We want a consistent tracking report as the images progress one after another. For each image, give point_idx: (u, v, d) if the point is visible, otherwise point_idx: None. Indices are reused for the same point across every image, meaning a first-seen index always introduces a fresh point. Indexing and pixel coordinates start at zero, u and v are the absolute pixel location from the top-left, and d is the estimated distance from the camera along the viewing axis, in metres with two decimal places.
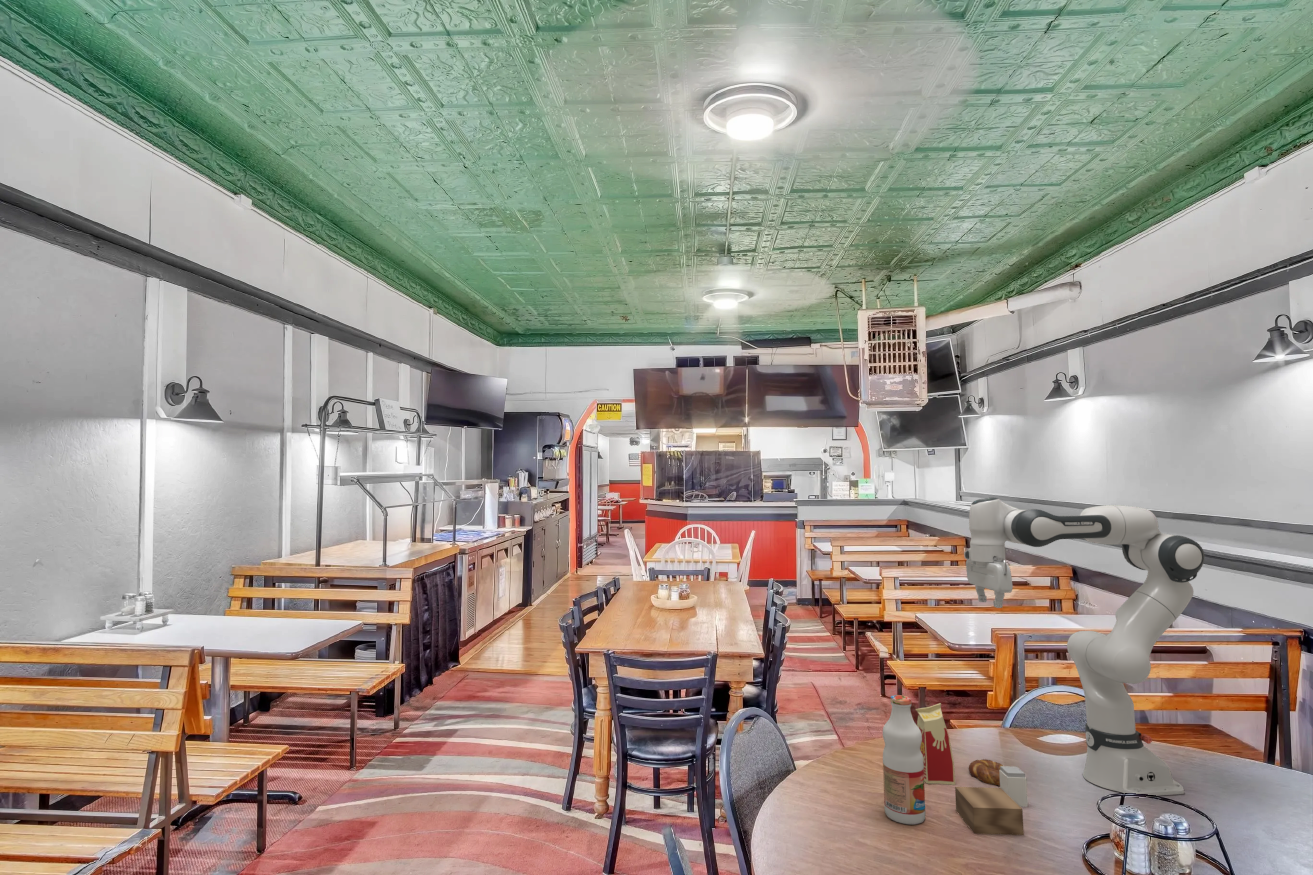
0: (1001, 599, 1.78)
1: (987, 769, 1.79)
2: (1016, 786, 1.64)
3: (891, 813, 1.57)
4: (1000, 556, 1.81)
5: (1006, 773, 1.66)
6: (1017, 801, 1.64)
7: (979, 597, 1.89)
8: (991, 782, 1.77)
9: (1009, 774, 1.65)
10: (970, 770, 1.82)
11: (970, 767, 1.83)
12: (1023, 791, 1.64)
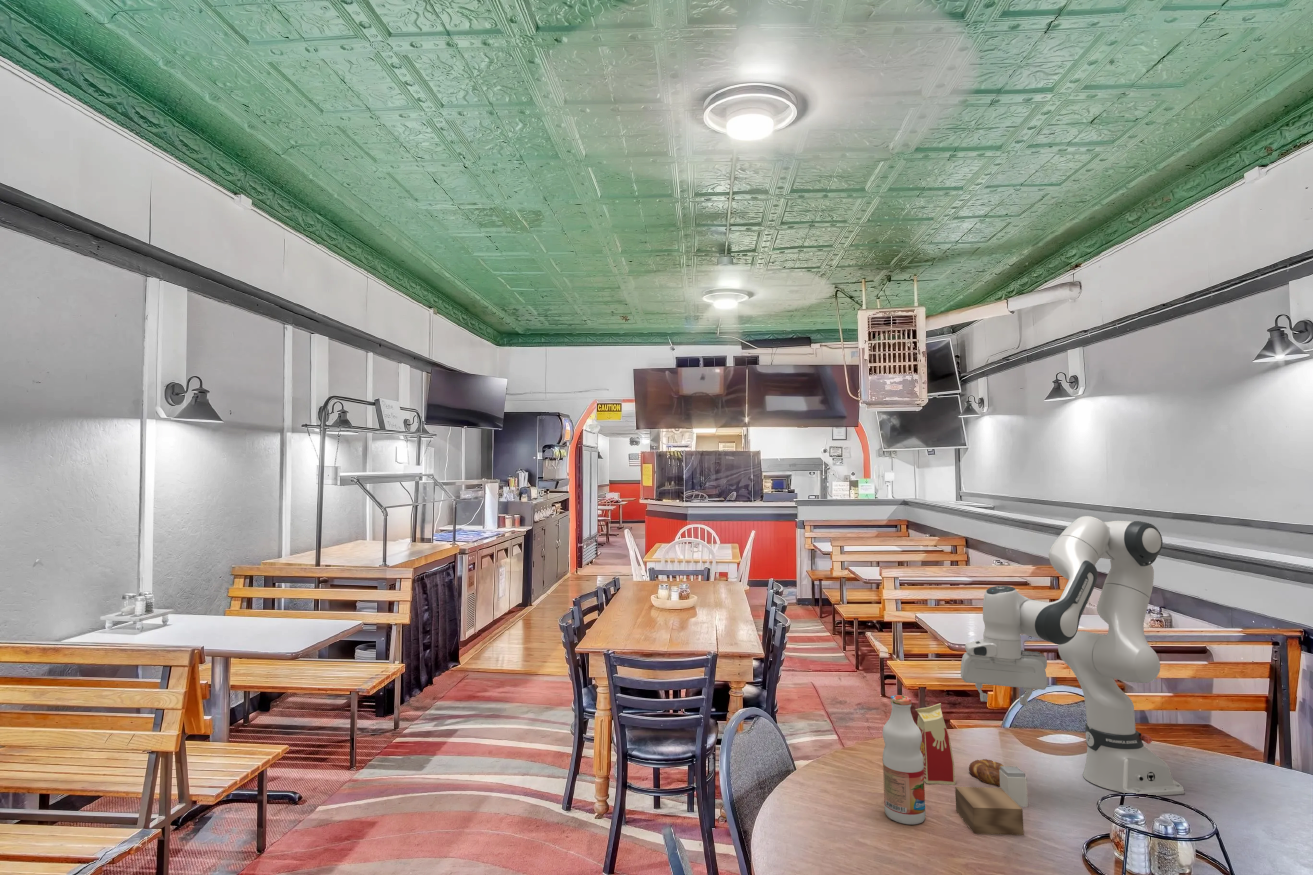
0: None
1: (987, 769, 1.79)
2: (1016, 786, 1.64)
3: (891, 813, 1.57)
4: None
5: (1006, 773, 1.66)
6: (1017, 801, 1.64)
7: (985, 696, 1.72)
8: (991, 782, 1.77)
9: (1009, 774, 1.65)
10: (970, 770, 1.82)
11: (970, 767, 1.83)
12: (1023, 791, 1.64)
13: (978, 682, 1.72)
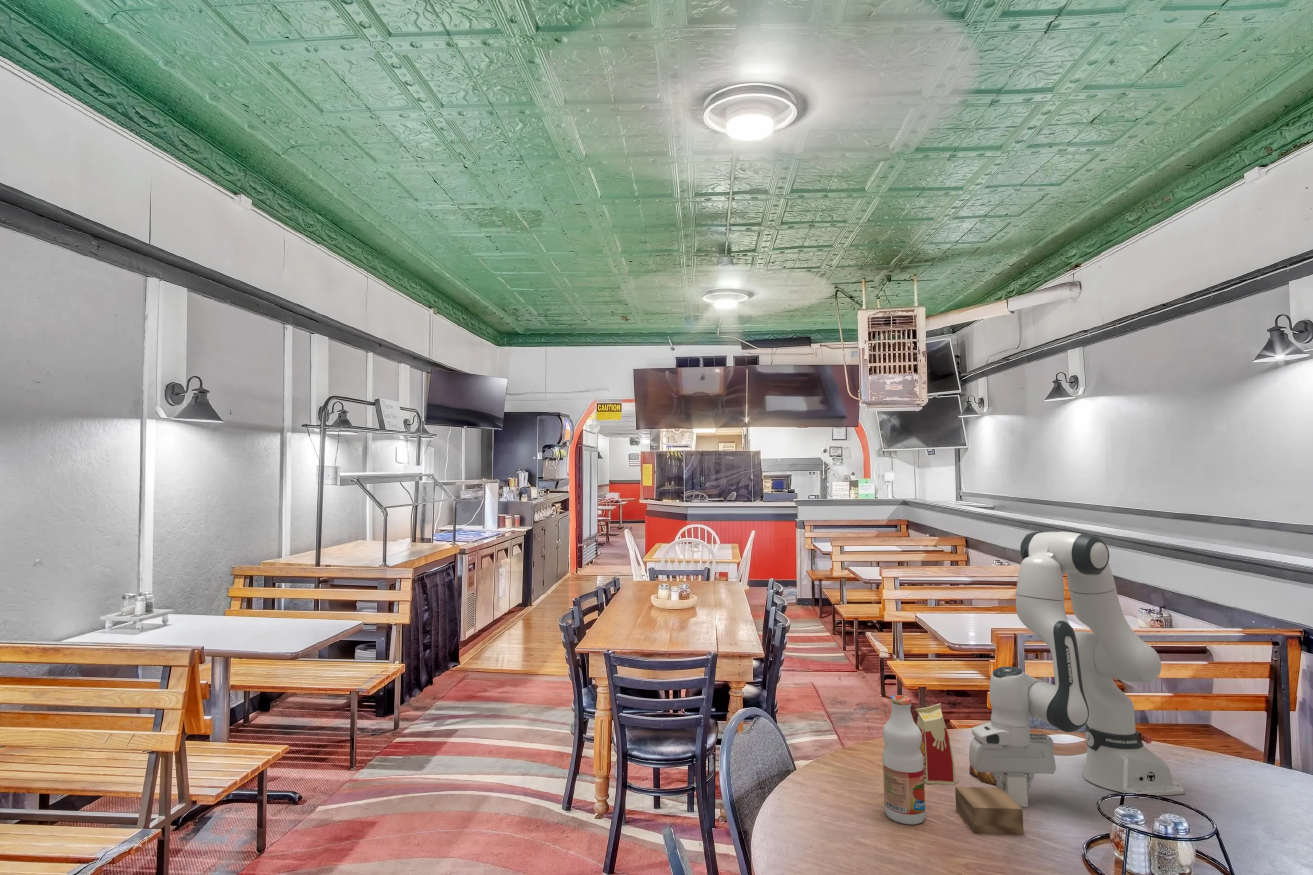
0: None
1: None
2: (1016, 786, 1.64)
3: (891, 813, 1.57)
4: None
5: (1006, 773, 1.66)
6: (1017, 801, 1.64)
7: (1003, 785, 1.66)
8: (992, 782, 1.77)
9: (1009, 774, 1.65)
10: (971, 770, 1.82)
11: (971, 767, 1.83)
12: (1023, 791, 1.64)
13: (990, 771, 1.66)
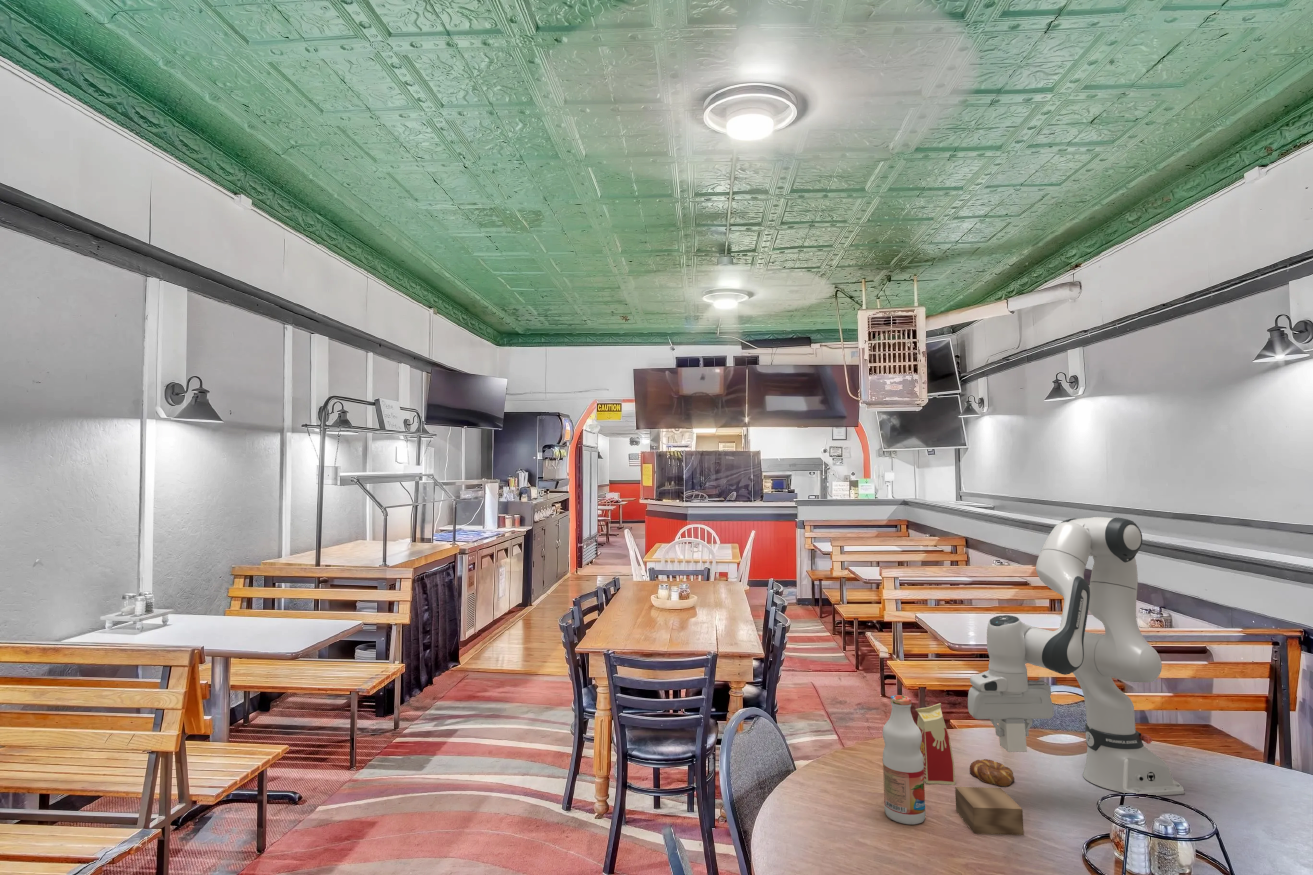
0: None
1: (988, 769, 1.79)
2: (1015, 732, 1.66)
3: (891, 813, 1.57)
4: None
5: (1005, 720, 1.67)
6: (1016, 746, 1.65)
7: (1002, 731, 1.67)
8: (992, 782, 1.77)
9: (1008, 720, 1.66)
10: (971, 770, 1.82)
11: (971, 767, 1.83)
12: (1022, 736, 1.65)
13: (989, 718, 1.67)
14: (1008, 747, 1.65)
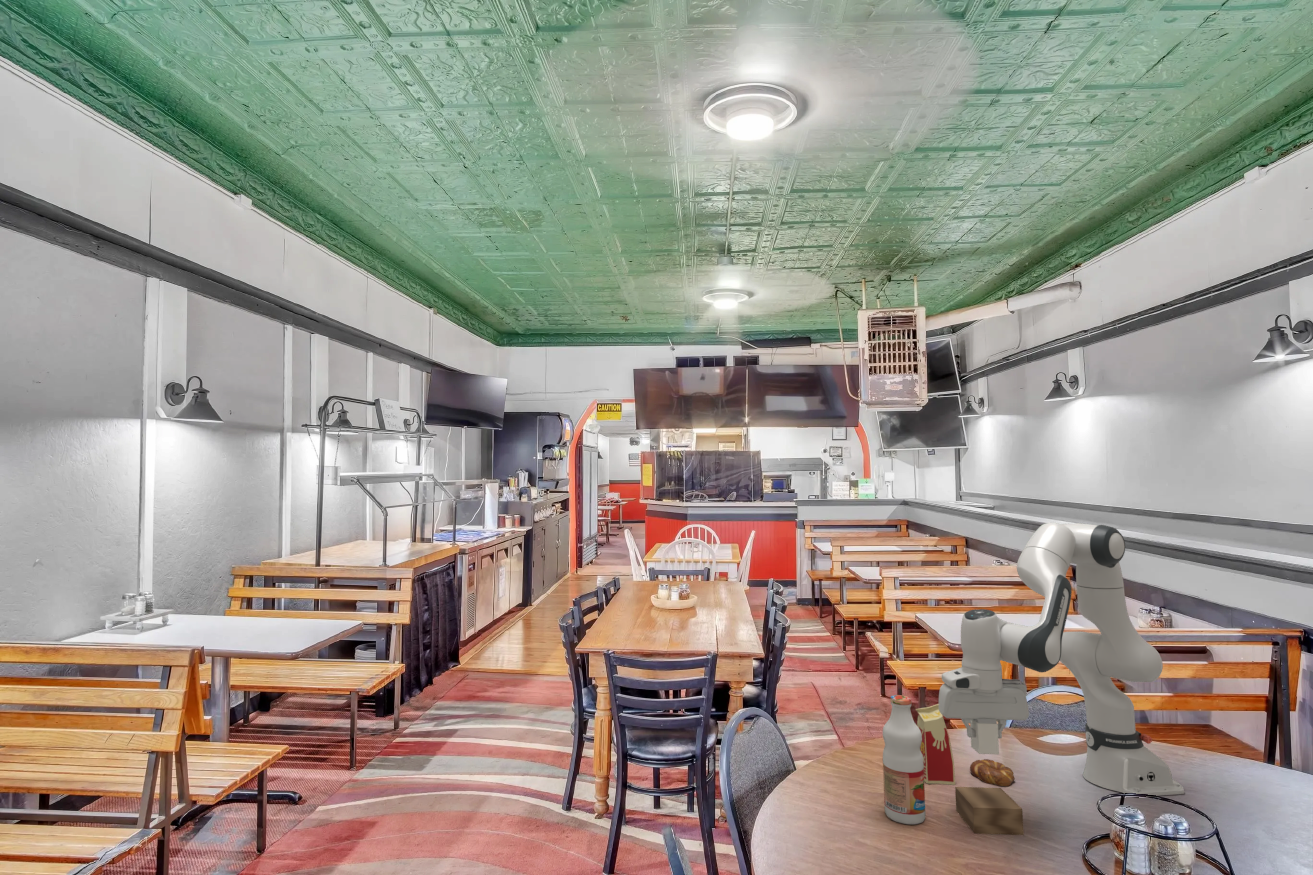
0: None
1: (988, 769, 1.79)
2: (987, 733, 1.56)
3: (891, 813, 1.57)
4: None
5: (976, 719, 1.57)
6: (988, 748, 1.55)
7: (973, 732, 1.57)
8: (992, 782, 1.77)
9: (979, 720, 1.56)
10: (971, 770, 1.82)
11: (971, 767, 1.83)
12: (994, 738, 1.55)
13: (960, 717, 1.57)
14: (979, 749, 1.55)
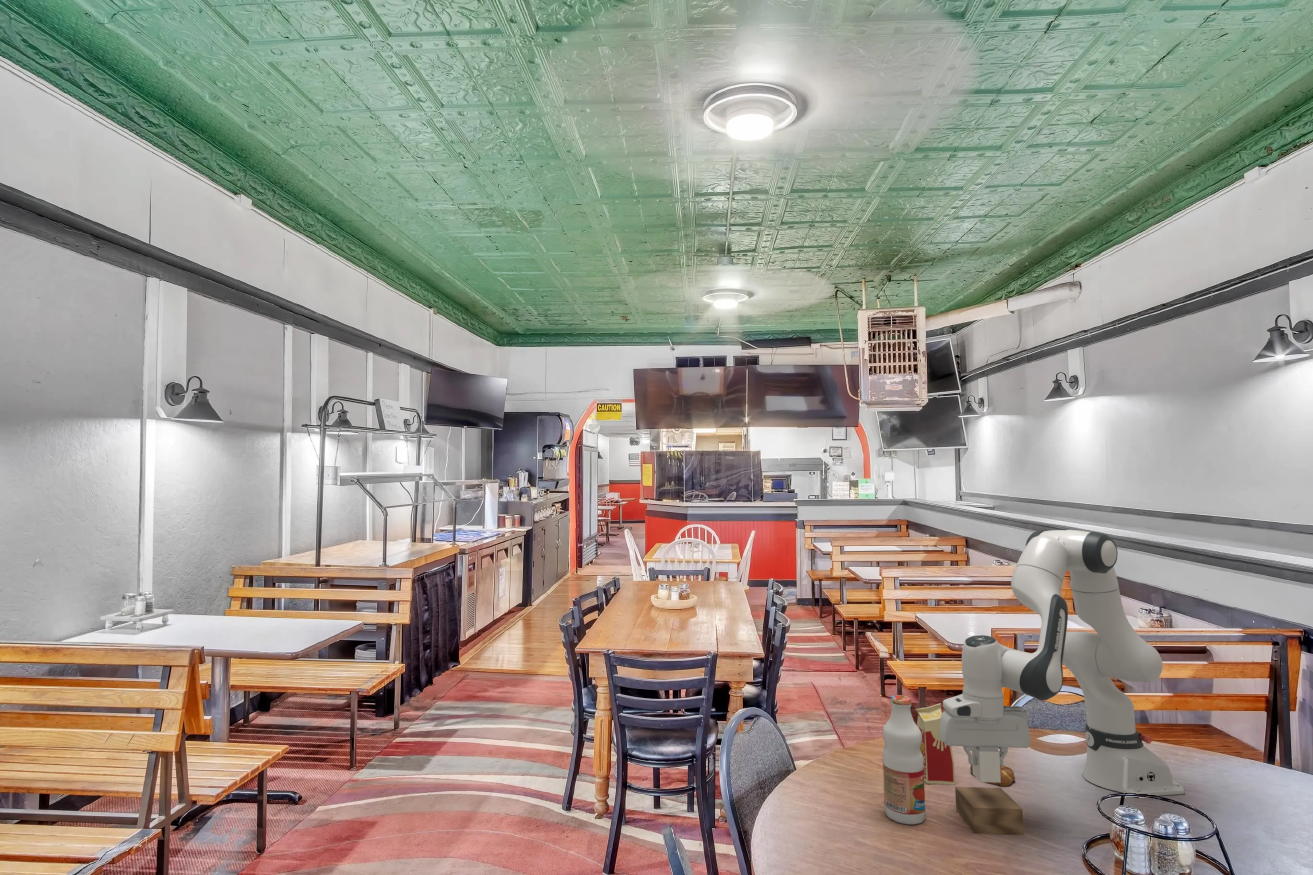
0: None
1: None
2: (988, 760, 1.55)
3: (891, 813, 1.57)
4: None
5: (978, 747, 1.56)
6: (989, 776, 1.55)
7: (975, 760, 1.57)
8: (993, 782, 1.77)
9: (981, 748, 1.56)
10: (972, 770, 1.82)
11: None
12: (996, 766, 1.55)
13: (961, 745, 1.56)
14: (981, 777, 1.55)
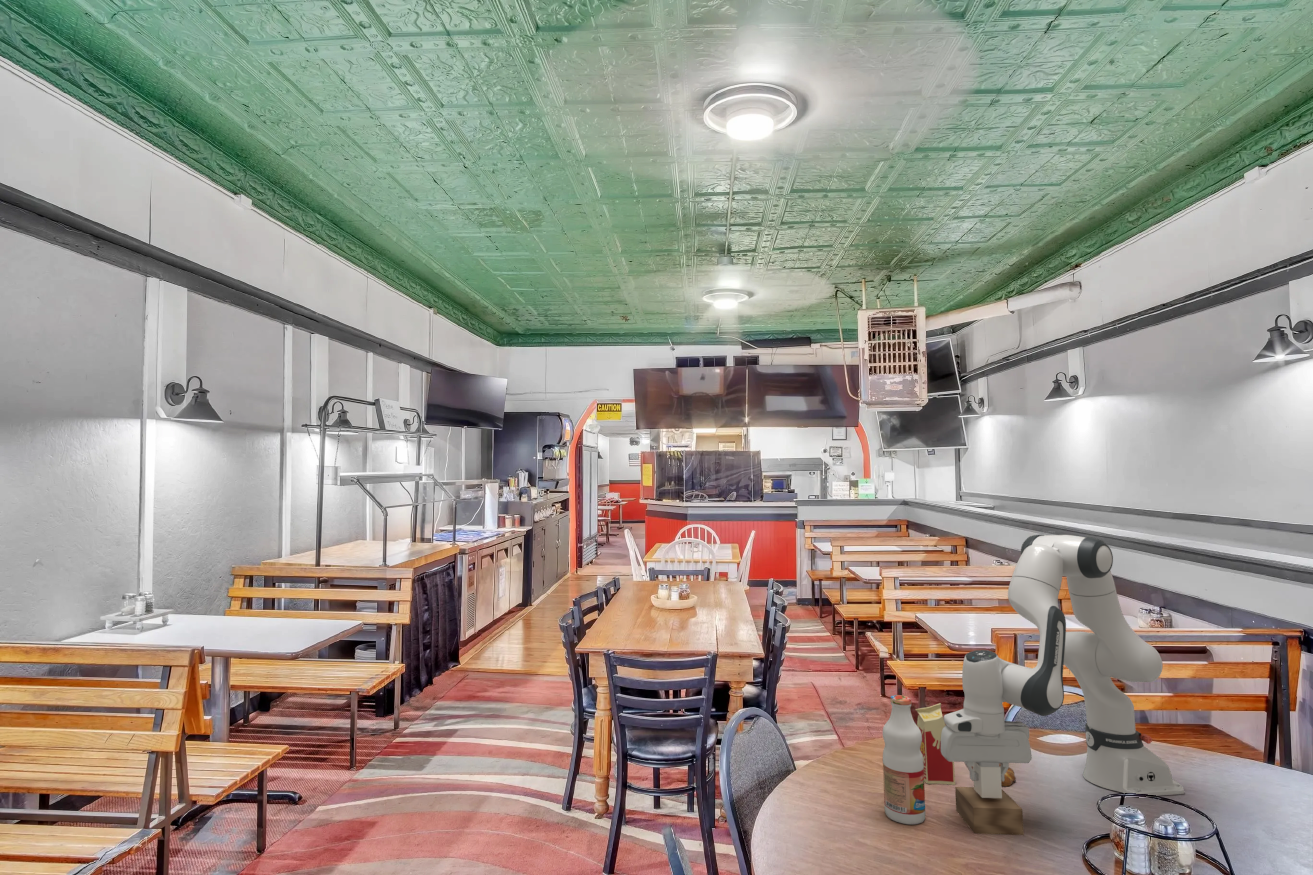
0: None
1: None
2: (989, 776, 1.55)
3: (891, 813, 1.57)
4: None
5: (979, 762, 1.56)
6: (990, 792, 1.54)
7: (976, 775, 1.56)
8: None
9: (982, 763, 1.55)
10: None
11: (972, 767, 1.83)
12: (997, 781, 1.55)
13: (962, 760, 1.56)
14: (982, 792, 1.55)
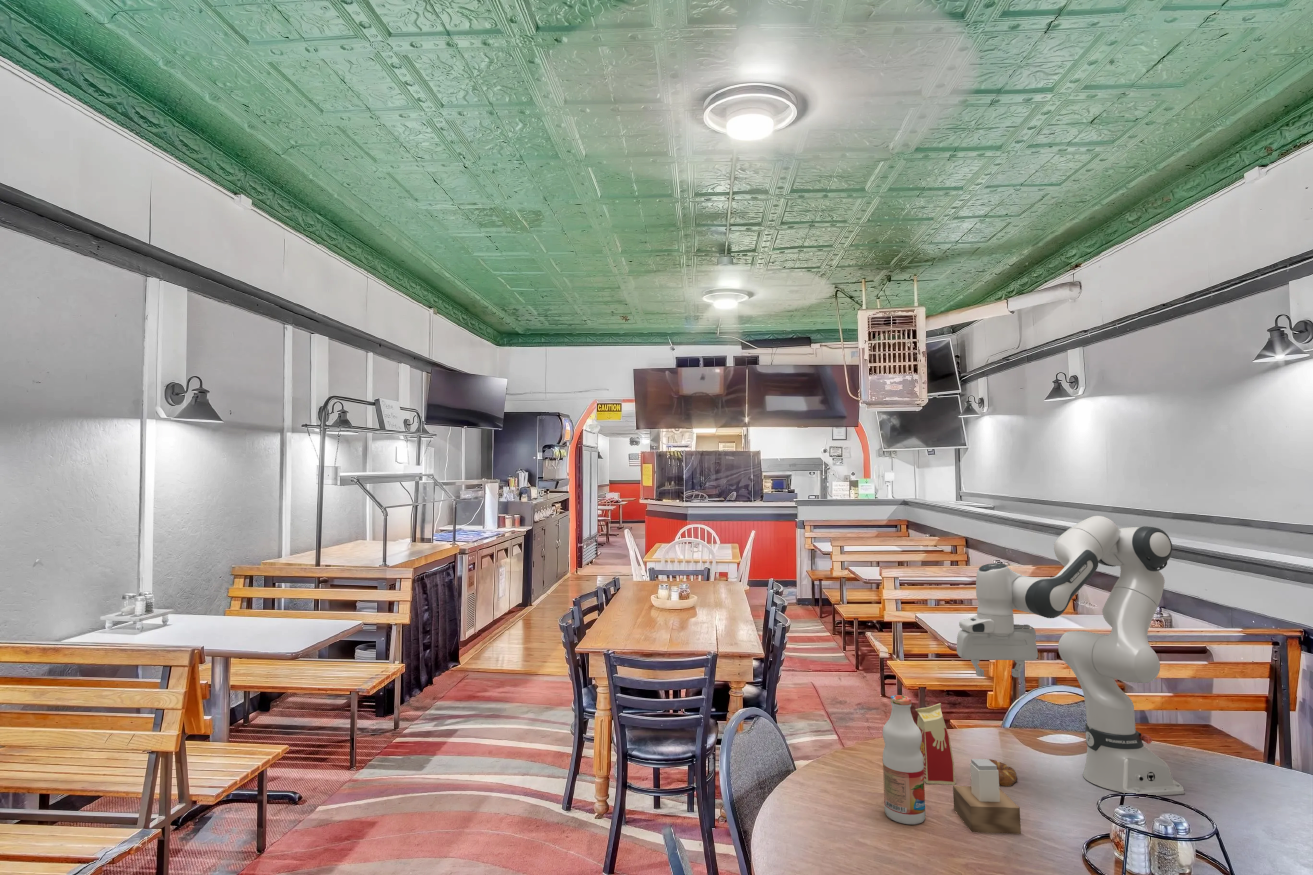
0: None
1: None
2: (988, 780, 1.55)
3: (891, 813, 1.57)
4: None
5: (977, 766, 1.56)
6: (989, 796, 1.54)
7: (981, 671, 1.76)
8: None
9: (980, 767, 1.55)
10: None
11: None
12: (995, 785, 1.55)
13: (976, 658, 1.76)
14: (981, 796, 1.54)
